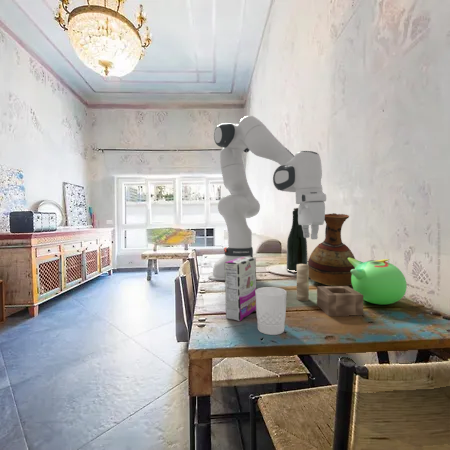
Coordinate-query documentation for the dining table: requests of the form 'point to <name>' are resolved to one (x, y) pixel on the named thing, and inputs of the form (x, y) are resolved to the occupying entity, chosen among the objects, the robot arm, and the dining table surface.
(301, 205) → the robot arm
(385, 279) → the green rounded body
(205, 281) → the dining table surface
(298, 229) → the dark wine bottle
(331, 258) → the brown clay vase
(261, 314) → the white cup
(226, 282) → the candy bar box
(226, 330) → the dining table surface
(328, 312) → the socket block
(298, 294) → the beech dowel
